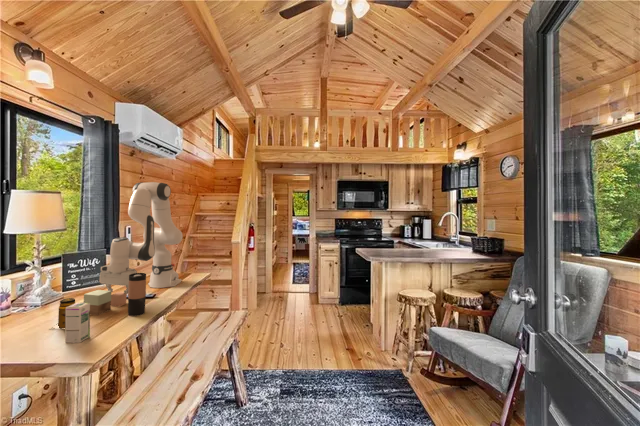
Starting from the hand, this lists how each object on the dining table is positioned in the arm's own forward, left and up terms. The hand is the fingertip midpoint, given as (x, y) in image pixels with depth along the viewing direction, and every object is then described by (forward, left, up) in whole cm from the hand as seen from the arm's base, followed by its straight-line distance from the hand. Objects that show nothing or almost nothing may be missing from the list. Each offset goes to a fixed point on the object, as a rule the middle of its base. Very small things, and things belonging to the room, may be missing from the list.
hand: (118, 292), depth 165 cm
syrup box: (+40, +16, -7) cm, 44 cm away
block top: (+11, -2, -2) cm, 12 cm away
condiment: (+29, -1, -7) cm, 30 cm away
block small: (-1, 0, -7) cm, 7 cm away
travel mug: (+9, +18, -7) cm, 21 cm away
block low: (+11, -2, -7) cm, 13 cm away
